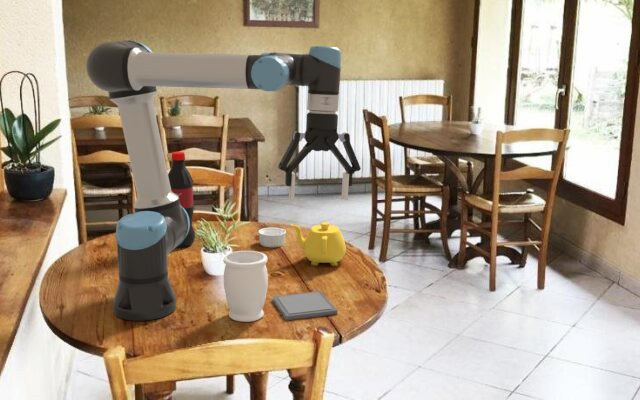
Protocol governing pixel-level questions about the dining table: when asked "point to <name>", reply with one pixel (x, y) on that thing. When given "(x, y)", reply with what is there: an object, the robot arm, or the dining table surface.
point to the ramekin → (272, 237)
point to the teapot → (322, 244)
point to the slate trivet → (304, 305)
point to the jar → (245, 284)
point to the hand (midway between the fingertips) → (318, 199)
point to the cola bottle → (183, 191)
